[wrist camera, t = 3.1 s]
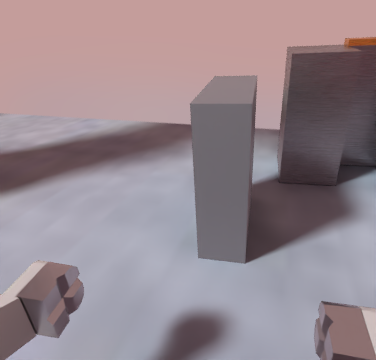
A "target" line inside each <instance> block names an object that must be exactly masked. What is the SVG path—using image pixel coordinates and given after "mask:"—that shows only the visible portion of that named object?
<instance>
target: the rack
mask: <svg viewBox="0 0 376 360" xmlns="http://www.w3.org/2000/svg"><path fill="white" fill-rule="evenodd" d="M277 158H278V172H279V182H282V183H299V184H316V185H334V186H336V181H337V176H338V171H339V166H340V165H355V166H376V37H366V38H346V39H345V43H344V45H324V46H300V47H287V58H286V69H285V80H284V90H283V101H282V113H281V123H280V134H279V145H278V155H277Z"/></svg>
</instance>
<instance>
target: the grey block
mask: <svg viewBox="0 0 376 360" xmlns="http://www.w3.org/2000/svg"><path fill="white" fill-rule="evenodd" d="M256 92H257V76H215V77H214V78H213V79H212V80H211V81H210V83H209V84H208V85H207V86H206V87H205V88H204V89H203V90H202V91H201V92H200V93H199V95H198V96H197V97H196V98H195V99H194V100H193V101H192V102H191V104H190V108H191V129H192V148H193V167H194V186H195V205H196V223H197V242H198V258H203V259H211V260H220V261H228V262H236V263H244V264H245V260H246V249H247V238H248V227H249V216H250V205H251V192H252V172H253V152H254V132H255V112H256Z"/></svg>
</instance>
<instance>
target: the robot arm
mask: <svg viewBox="0 0 376 360" xmlns="http://www.w3.org/2000/svg"><path fill="white" fill-rule="evenodd" d="M79 274H80V273H79V271H78V268H77V267H75V266H70V265H65V264H59V263H53V262H46V261H40V260H38V261H36V262H33V263H32V264H31V266H30V267H29V268H28V269H27V270H26V271H25V272H24V273H23V274H22V275H21V276H20V277H19V278H18V279H17V280H16V281H15V282H14V283H13V284H12V285H11V286H10V287H9V288H8V289H7V290H6V291H5V292H4V293H3V294H0V360H5V359H6V358H8V357H9V356H10V355H12V354H13V353H14V352H16V351H17V350H18V349H20V348H21V347H22V346H24V345H25V344H26V343H28V342H29V341H30V340H32V339H33V338H34V337H35V336H36V334H37V335H42V336H48V337H54V338H59V336H60V335H61V333H62V332H63V330H64V329H65V327H66V326H67V324H68V323H69V321H70V319H69V315H70V314H71V313H73V312H74V311H76V310H77V309H78V307H79V306H80V304H81V302H82V299H83V296H84V287H83V283H82V282H81V281H80V280H79V279H78V276H79ZM318 311H319V318H318V319H316V323H315V331H314V341H315V350H316V354H317V355H318V356H319V358H320V360H376V309H375V308H368V307H361V306H355V305H347V304H340V303H332V302H325V301H321V302H320V305H319V309H318Z"/></svg>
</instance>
